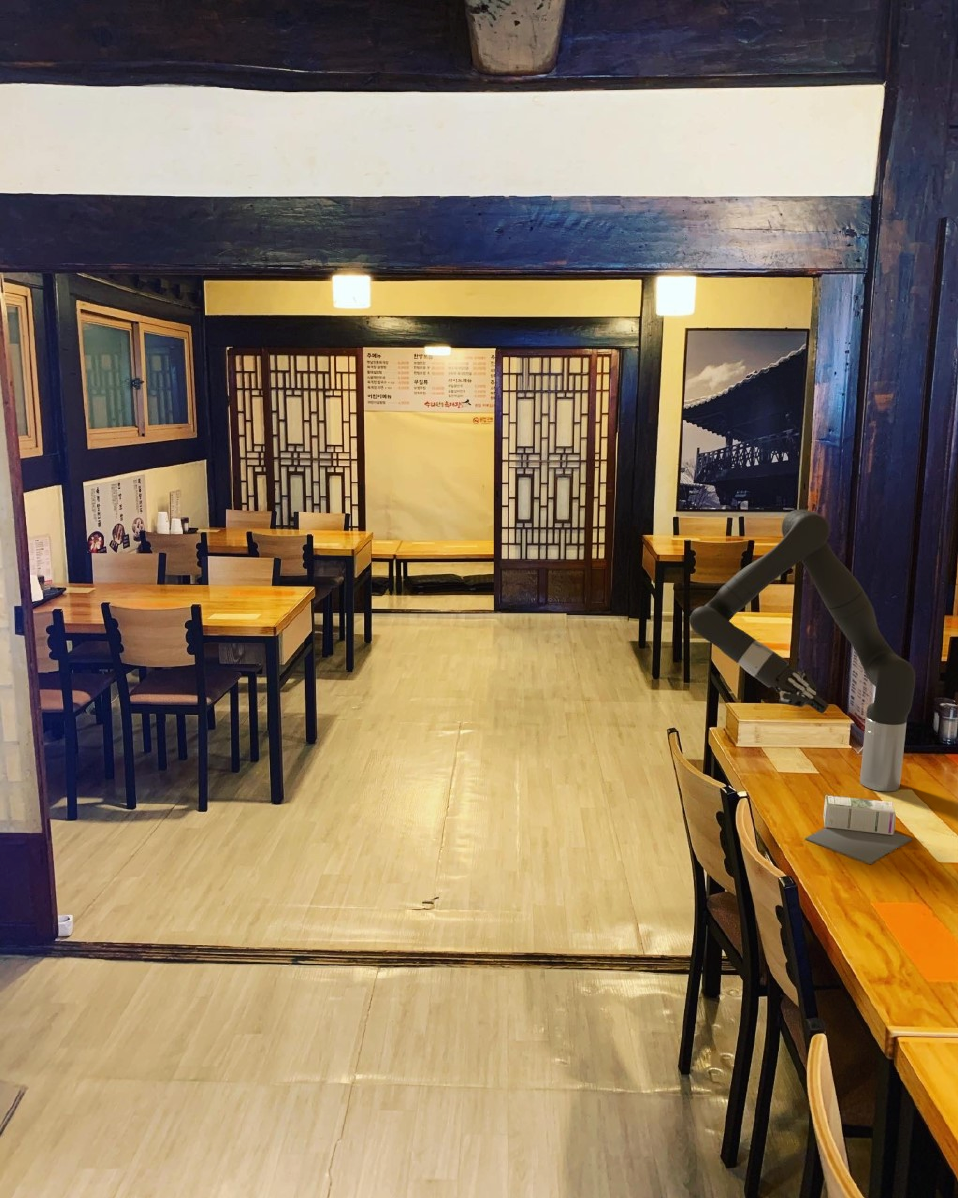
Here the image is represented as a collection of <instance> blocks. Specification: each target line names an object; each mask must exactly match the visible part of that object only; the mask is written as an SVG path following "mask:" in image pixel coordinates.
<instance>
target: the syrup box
mask: <svg viewBox="0 0 958 1198" xmlns="http://www.w3.org/2000/svg"><path fill="white" fill-rule="evenodd" d="M896 817H897V816H896V811H895V808H894V803H893V802H892V801H882V800H877V799H876V800H874V799H865V798H857V797H847V796H839V795H838V796H837V795H829V794H826V795H825V799H824V807H823V817H822V818H823V822H824V823H823V824H824V825H823V827H824V828H826V827H828V828H836V829H845V830H853V831H862V832H871V833H880V834H888V835H893V833H894V832H895V830H896V823H897V822H896V819H897V818H896Z"/></svg>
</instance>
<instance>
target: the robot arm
mask: <svg viewBox="0 0 958 1198" xmlns="http://www.w3.org/2000/svg"><path fill="white" fill-rule="evenodd" d="M781 523H782V524H781V533H782V536H783V538H782V539H781V541H779V543H777V544H776V545H775V546H774V547H773V548H772V549H771V550H770V551H768V552H766V554H764V555H763V556H761V557H760V558H758V559H756V560H754V561H753V562H751V563H749V564H748V565H746V566H745V567H743V568H742V569H740V570H739V571H738V572H737V573H736V574H734V575H733V576H732V577H731V578H730V579H729V580H728V581H727V582H725V584H724V585H722V586H721V587H720V588H719V590H718V591H717V593H716V595H715V596H714V597H713V598H711V599H710V600H709V601H708V602H707V603H706V604H705V605H704V606H702V605H701V606H698V607H697V608H695V609H694V610H693V611H692V612H691V613H690V616H689V625H690V628H691V629H692V630H693V632H695V634H697V635H698V636H700V637H702V638H703V639H704V640H706V641H708V642H709V643H711V644H712V645H714V646H715V647H717V648H718V649H719V650H720V651H721V652H722V653H723V654H725V655H726V657H728V658H730V659H731V661H734V662H735V663H737V664H738V665H739V666H740V667H741V668H742V669H743V670H745V672H746V673H748V674H750V675H751V676H752V677H754V678H755V679H757V681H759V682H761V683H762V684H763V685H765V686H766V687H767V688H774V690H775V691H776V692H777V693H778V694H779V696H780V698H779V699H778V702H779V703H780V704H783V705H788V706H789V705H790V706H792V707H793V706H794V707H799V708H803V707H804V706H809V707H811V708H812V709H814V710H815V711H816V712H817V713H820V714H823V713H825V712H826V710H827V709H828V707H829V704H828V702H827V701H826V700H824V699H822V698H821V697H820V696H819V695H818V694H817V692H816V690H817V689H818V688H817V686H816V684H815V682H814V680H813V678H812V676H811V674H810V673H809V670H808V669H805V668H804V669H802V670H801V671H797V670H796V669H795V668H793V667H790V666H789V664H790V663H789V661H787V660H786V659H785V658H784V657H782V656H781V655H780V654H778V653H776V651H774V650H772V649H771V648H770V647H768V646H767V645H765V644H764V643H762V642H760V641H758V640H757V639H755V638H754V637H752V636H751V635H750V634H749V633H747V632H746V631H744V630H742V629H741V628H739V627H737V626H735V625H734V624H733V623H732V622H730V621H731V619H733V617H735V615H736V614H737V613H738V612H740V611H741V610H742V609H743V608H745V607H746V606H747V605H748V604H749V603H750V602H751V601H753V599H754V598H756V597H757V596H758V595H759V594H760V593H762V591H763V590H765V589H766V588H767V587H768V586H769V585H770V584H772V583H773V582H774V581H775V580H777V578H779V577H780V576H782V575H783V574H784V573H786V571H788V570H790V569H791V568H793V567H794V566H795V565H797V564H798V563H800V562H801V563H802V564H803V565H804V567H805V569H806V570H807V572H808V574H809V576H810V578H811V581H812V583H813V585H814V587H815V588H816V589H817V592H818V594H819V595H820V597H821V600H822V601H823V603H824V605H825V607H826V608H827V610H828V612H829V613H830V615H831V617H832V618H833V620H834V622H835V624H836V625H837V626H838V628H839V629H840V631H841V632H842V633H843V635H844V637H846V639H847V640H848V642H849V643H850V644H851V646H852V648H853V649H854V651H855V653H856V655H857V657H858V660H859V662H860V664H861V666H862V668H863V671H864V674H865V676H866V677H867V679H868V681H869V682H870V683H871V684H872V685H873V686H874V687H875V693H874V698H873V699H874V700H873V702H872V703H869V704H868V705H867V708H866V715H865V725H864V726H865V727H864V733H863V734H864V735H863V745H862V755H861V765H860V766H861V767H860V775H859V783H860V785H862V786H863V787H865V788H867V789H870V790H874V791H876V792H877V791H878V792H879V791H880V792H894V791H898V790H899V789H900V784H901V778H902V771H903V770H902V768H903V760H904V751H905V750H904V748H905V741H906V730H907V722H908V721H907V719H908V715H909V714H910V712H911V709H912V707H913V700H914V694H915V688H916V672H915V669H914V667H913V665H912V664H911V663H910V662H909V661H907V660H905V659H904V658H902V657H900V656H899V655H897V654H896V652H894V650H893V649H892V648H891V646H890V645H889V644H888V642H887V640H886V639H885V638H884V637H883V635H882V633H881V631H880V630H879V627H878V623H877V622H878V621H877V619H876V614H875V613H876V612H875V610H874V607H873V605H872V603H871V601H870V599H869V597H868V595H867V594H866V592H865V590H864V589H863V587H862V586H861V584H860V583H859V580H857V578H856V577H855V576H854V575H853V573H851V571H850V570H849V569H848V568H847V567H846V565H844V563H843V562H842V561H841V560H840V559H839V558H838V556H837V555H836V554H835V553H834V551H833V550H832V548H831V546H830V545H829V542H828V539H829V537H830V534H831V529H830V524H829V523H828V520H827V519H826V518H825V517H823V516H822V515H820V514H819V513H817V512H813V511H811V510H808V509H794V510H792V511H790V512H788V513H787V514H786V515H785V516H784V518H783V520H782V522H781Z"/></svg>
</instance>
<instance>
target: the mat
mask: <svg viewBox="0 0 958 1198" xmlns="http://www.w3.org/2000/svg"><path fill="white" fill-rule="evenodd" d="M804 839H805V841H807V842H809V843H812V844H815V845H818V846H821V847H823V848H825V849H828V848H829V849H828V850H830V849H831V851H833V852H836V853H838V852H839V854H840V855H841V854H842V855H843V854H845V855H844V856H846V855H847V857H849V858H851V857H852V859H854V860H857V861H860V862H862V863H864V862H866V863H865V864H867V863H868V864H867V865H869V864H871V865H873V864H874V863H876V862H878V861H879V860H881V859H882V857H883V856H884V857H886V856H887V855H886V854H888V853H889V854H891V853H892V851H893V850H894V851H896V850H897V849H896V848H898V849H899V848H901V847H902V846H904V845H906V844H907V843H910V842H911V841H912V840H913V838H912V837H909V836H907V835H903V834H900V833H897V832H895V831H894V833H893V835H888V834H880V833H871V832H862V831H853V830H845V829H836V828H828V827H824V828H822V829H821V830H818V831H816V832H815V833H812V834H810V835H808V836H807V837H804ZM895 849H896V850H895ZM894 851H893V852H894ZM890 852H891V853H890ZM889 854H888V855H889ZM885 855H886V856H885ZM884 857H883V858H884ZM880 858H881V859H880ZM875 861H876V862H875ZM873 862H874V863H873Z"/></svg>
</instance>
